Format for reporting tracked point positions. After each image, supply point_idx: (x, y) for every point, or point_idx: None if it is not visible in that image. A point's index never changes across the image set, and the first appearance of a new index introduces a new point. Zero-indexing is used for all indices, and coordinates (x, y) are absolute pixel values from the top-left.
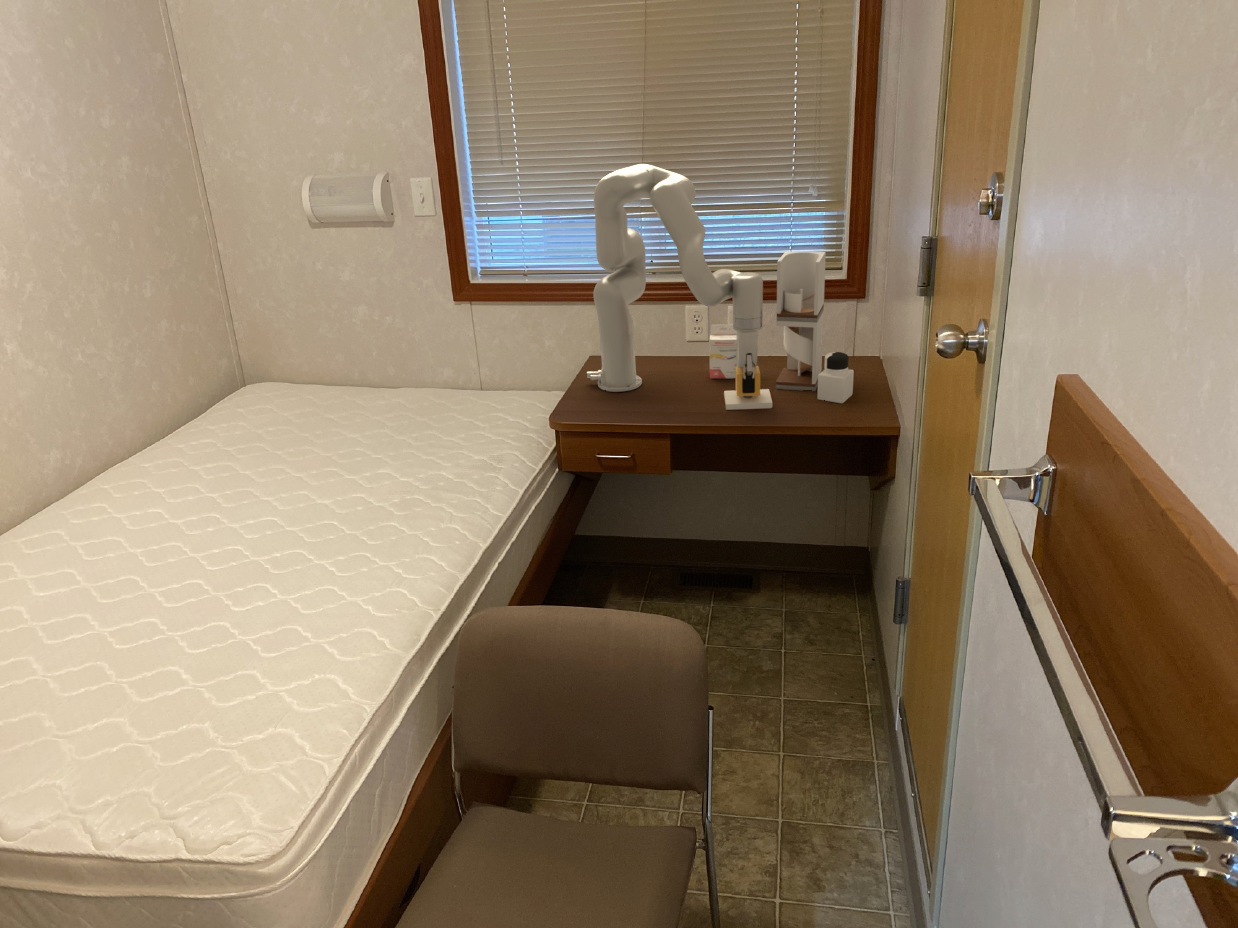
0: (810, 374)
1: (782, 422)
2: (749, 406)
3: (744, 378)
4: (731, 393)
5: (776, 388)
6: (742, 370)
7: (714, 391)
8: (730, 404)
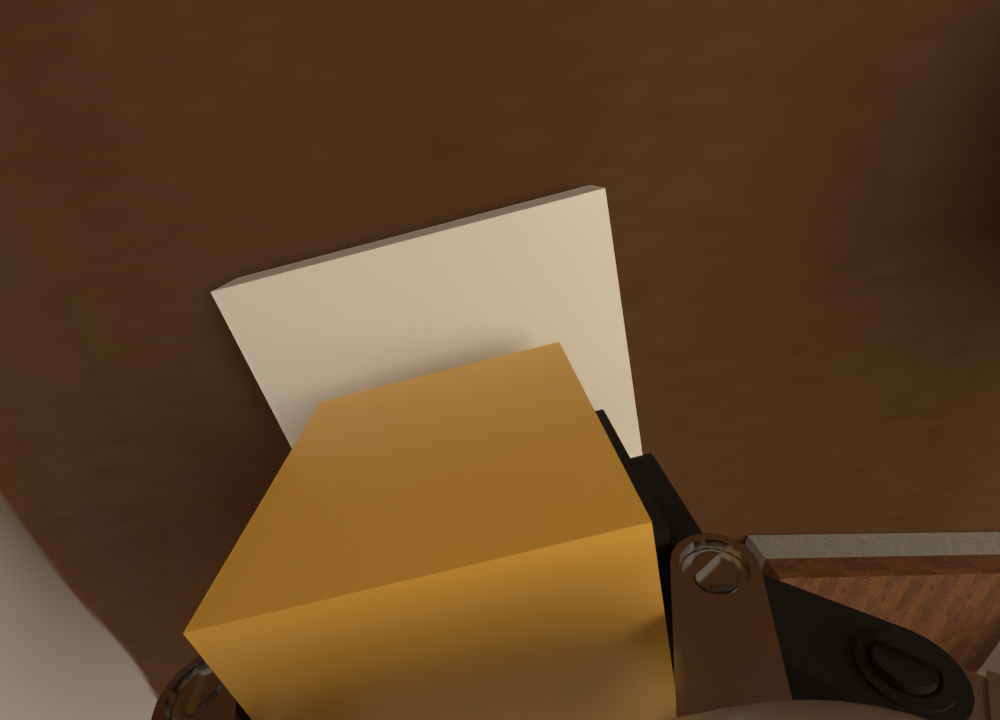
0: None
1: (165, 659)
2: None
3: (171, 695)
4: (531, 284)
5: (748, 540)
6: (438, 664)
7: (725, 41)
8: (235, 333)
